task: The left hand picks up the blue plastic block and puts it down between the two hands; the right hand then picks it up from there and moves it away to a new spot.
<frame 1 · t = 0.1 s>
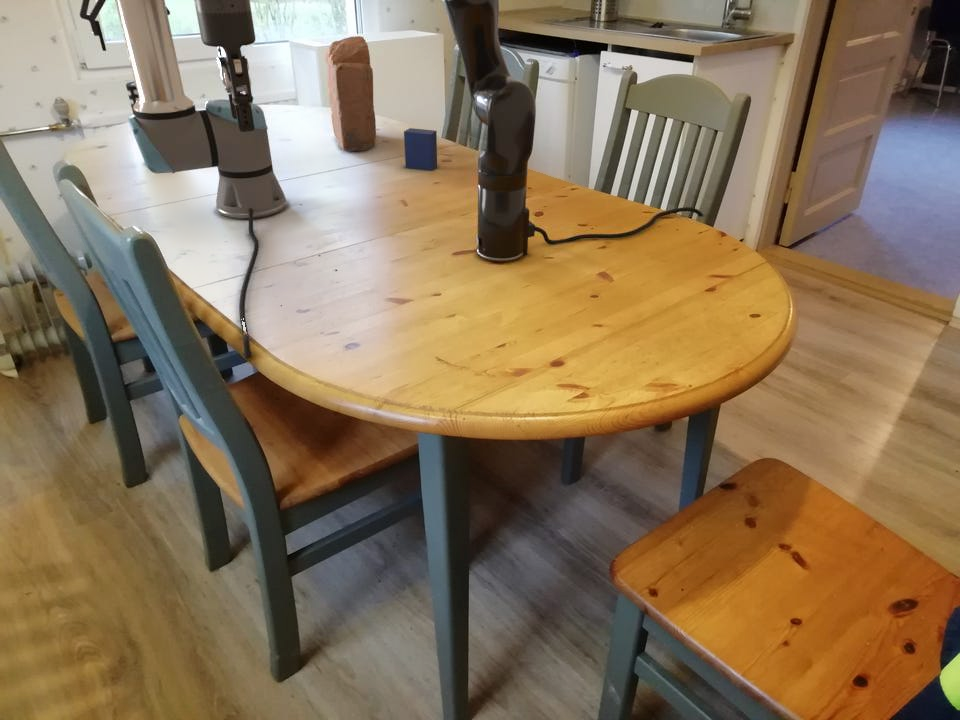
left hand: (134, 48, 174), 28 cm above the table, tool pointing down, fingers open, 13 cm apart
right hand: (243, 124, 107), 29 cm above the table, tool pointing down, fingers open, 8 cm apart
block: (421, 167, 185), on the table
stone: (355, 142, 205), on the table
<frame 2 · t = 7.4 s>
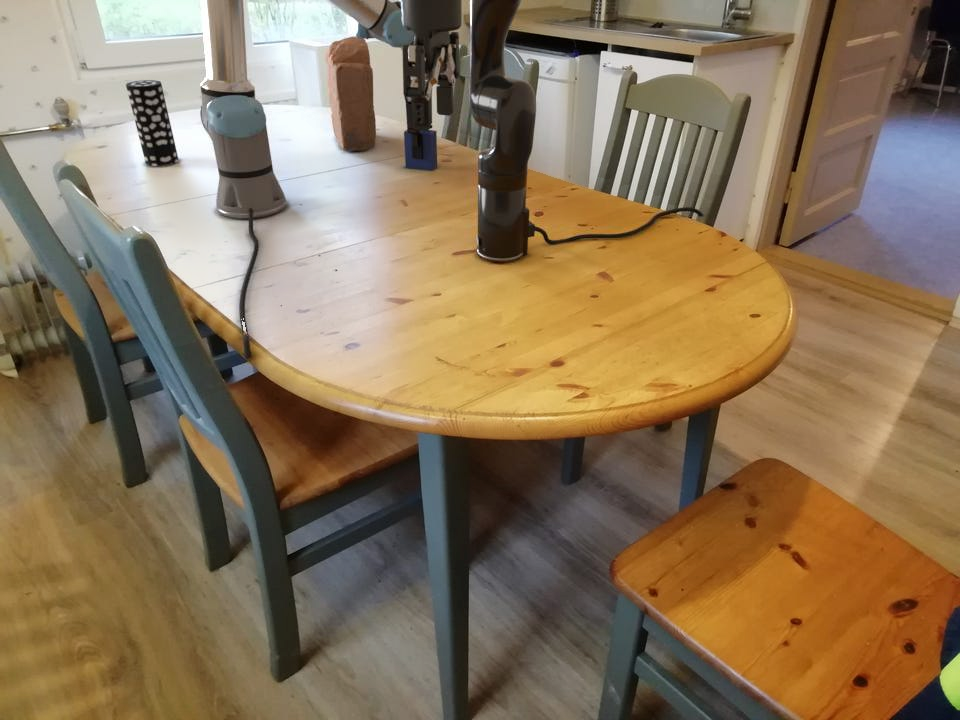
left hand: (421, 155, 184), 3 cm above the table, tool pointing down, fingers closed on block, 4 cm apart
right hand: (434, 121, 93), 33 cm above the table, tool pointing down, fingers open, 8 cm apart
block: (421, 167, 185), on the table, touching left hand
everything else where it was.
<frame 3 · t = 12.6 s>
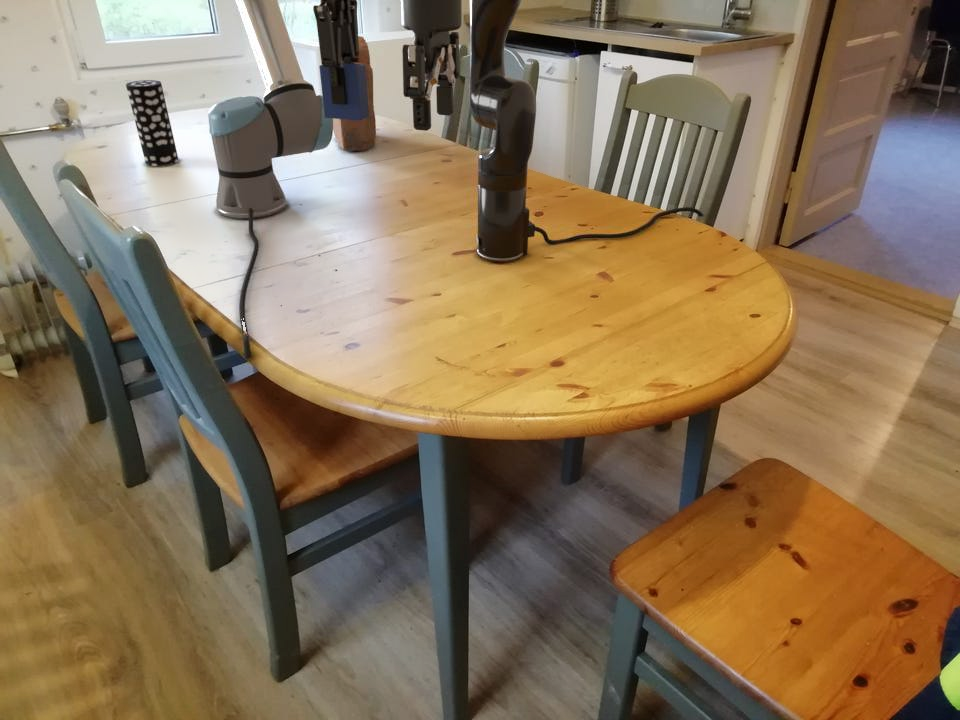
left hand: (344, 100, 133), 27 cm above the table, tool pointing down, fingers closed on block, 4 cm apart
right hand: (434, 121, 93), 33 cm above the table, tool pointing down, fingers open, 8 cm apart
block: (347, 116, 135), point 24 cm above the table, touching left hand
everything else where it was.
when the left hand's fingers open (5 cm above the table, at t = 18.2 s): block drops 2 cm, on the table.
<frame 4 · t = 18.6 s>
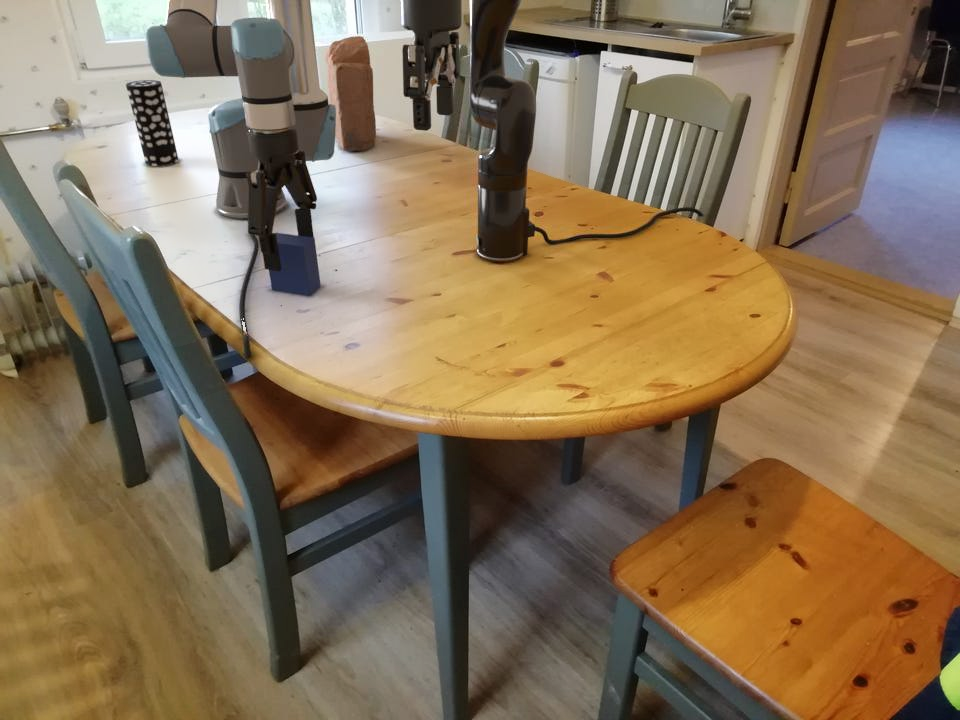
left hand: (290, 256, 121), 6 cm above the table, tool pointing down, fingers open, 10 cm apart
right hand: (434, 121, 93), 33 cm above the table, tool pointing down, fingers open, 8 cm apart
block: (296, 288, 124), on the table
everything else where it was.
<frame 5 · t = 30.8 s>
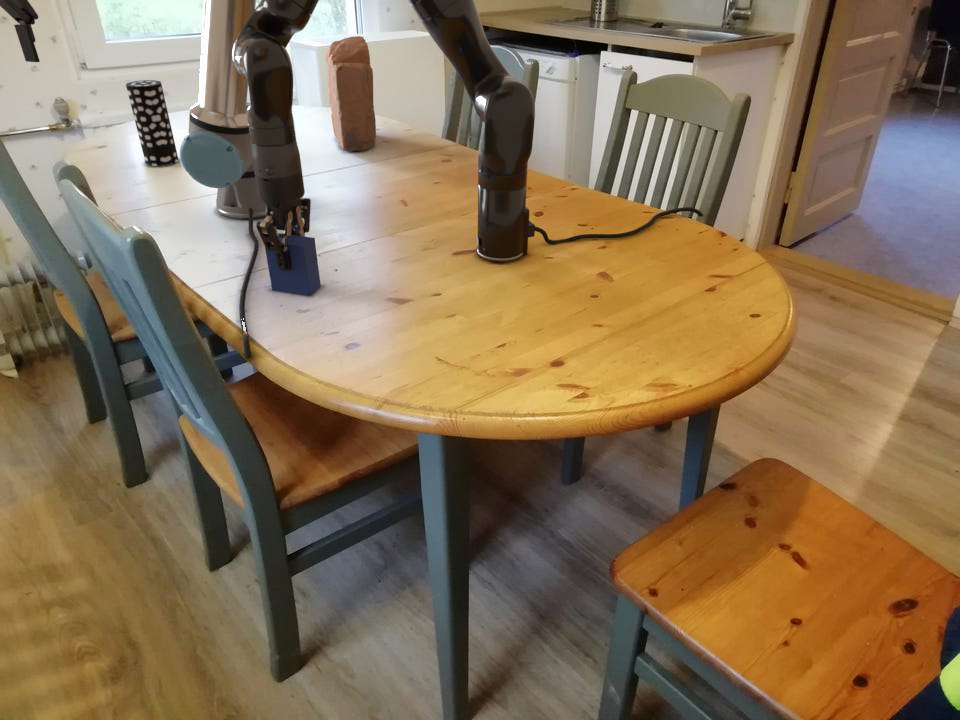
left hand: (3, 67, 130), 32 cm above the table, tool pointing down, fingers open, 13 cm apart
right hand: (292, 264, 122), 5 cm above the table, tool pointing down, fingers closed on block, 4 cm apart
block: (296, 288, 124), on the table, touching right hand
everything else where it was.
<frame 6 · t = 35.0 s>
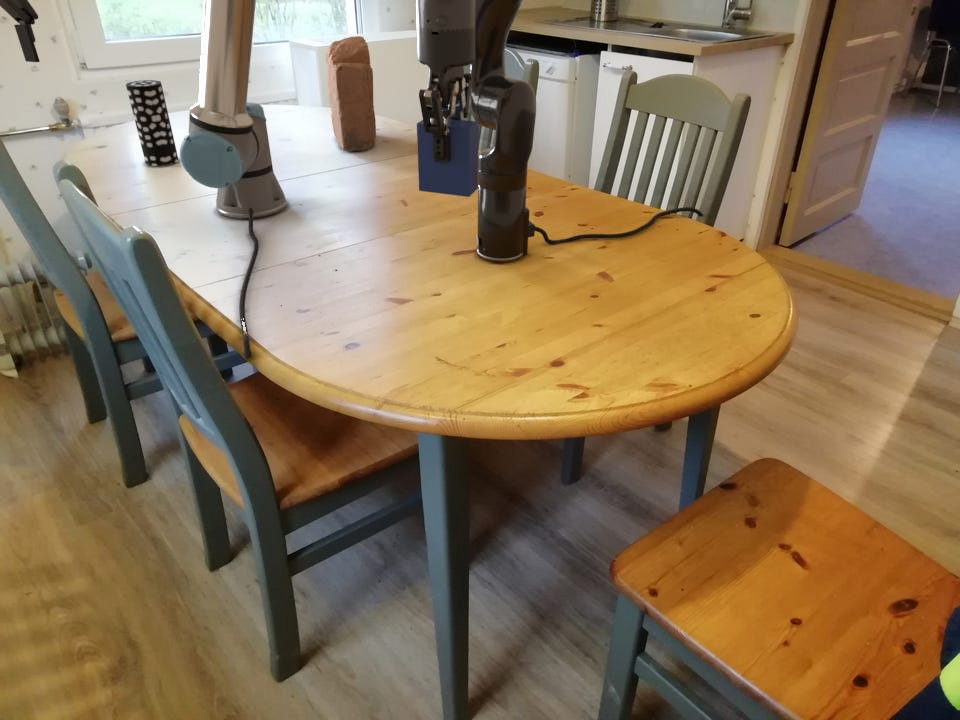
left hand: (3, 67, 130), 32 cm above the table, tool pointing down, fingers open, 13 cm apart
right hand: (447, 156, 97), 28 cm above the table, tool pointing down, fingers closed on block, 4 cm apart
block: (448, 189, 100), point 23 cm above the table, touching right hand
everything else where it was.
when the right hand's fingers open (7 cm above the table, at t = 39.3 s): block drops 2 cm, on the table.
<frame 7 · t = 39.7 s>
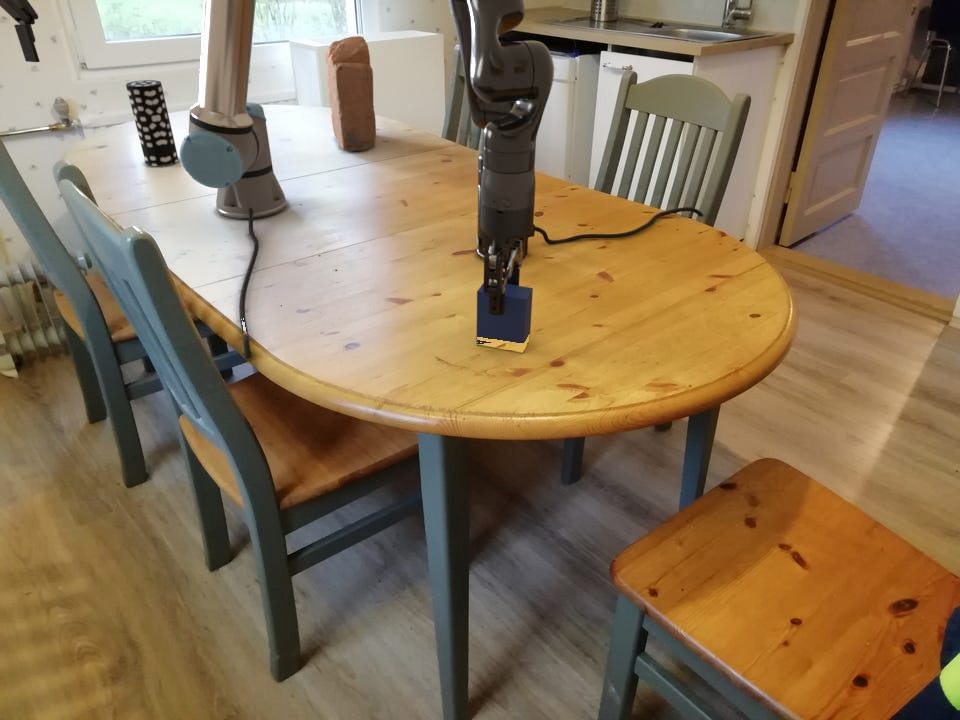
left hand: (3, 67, 130), 32 cm above the table, tool pointing down, fingers open, 13 cm apart
right hand: (504, 301, 105), 8 cm above the table, tool pointing down, fingers open, 8 cm apart
block: (503, 343, 109), on the table
everything else where it was.
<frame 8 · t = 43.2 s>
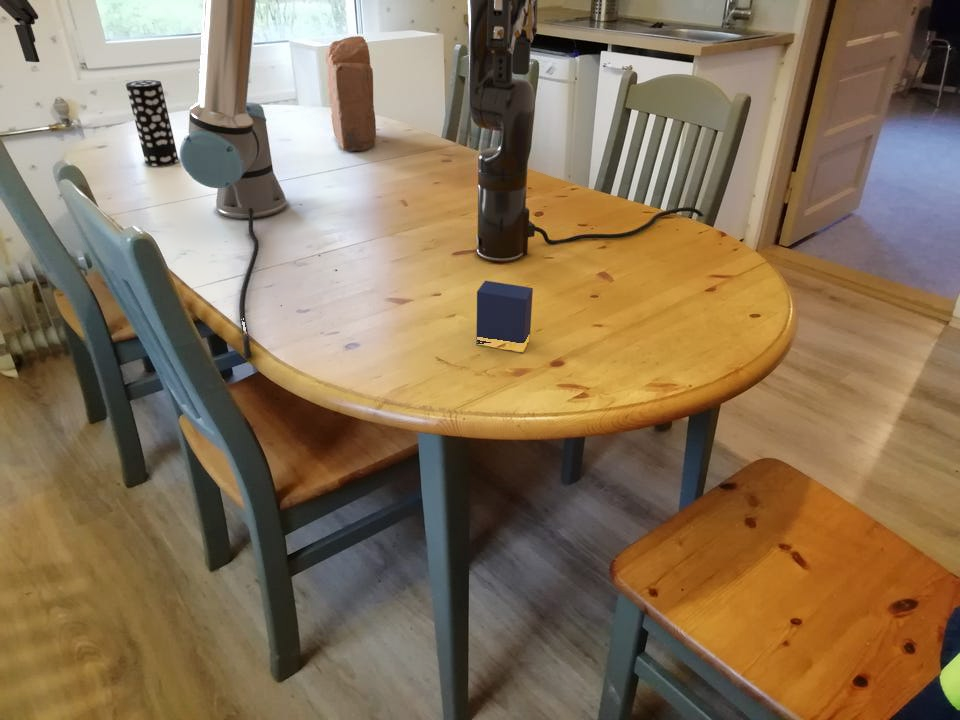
left hand: (3, 67, 130), 32 cm above the table, tool pointing down, fingers open, 13 cm apart
right hand: (511, 80, 88), 39 cm above the table, tool pointing down, fingers open, 8 cm apart
nothing on the table moved.
at the end: block inside the target area (0.1 cm from its centre), on the table; block tilted 0°; the two hands never held the block at the same time; the left hand is holding nothing; the right hand is holding nothing; block at rest at the end (0.0 cm/s) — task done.
